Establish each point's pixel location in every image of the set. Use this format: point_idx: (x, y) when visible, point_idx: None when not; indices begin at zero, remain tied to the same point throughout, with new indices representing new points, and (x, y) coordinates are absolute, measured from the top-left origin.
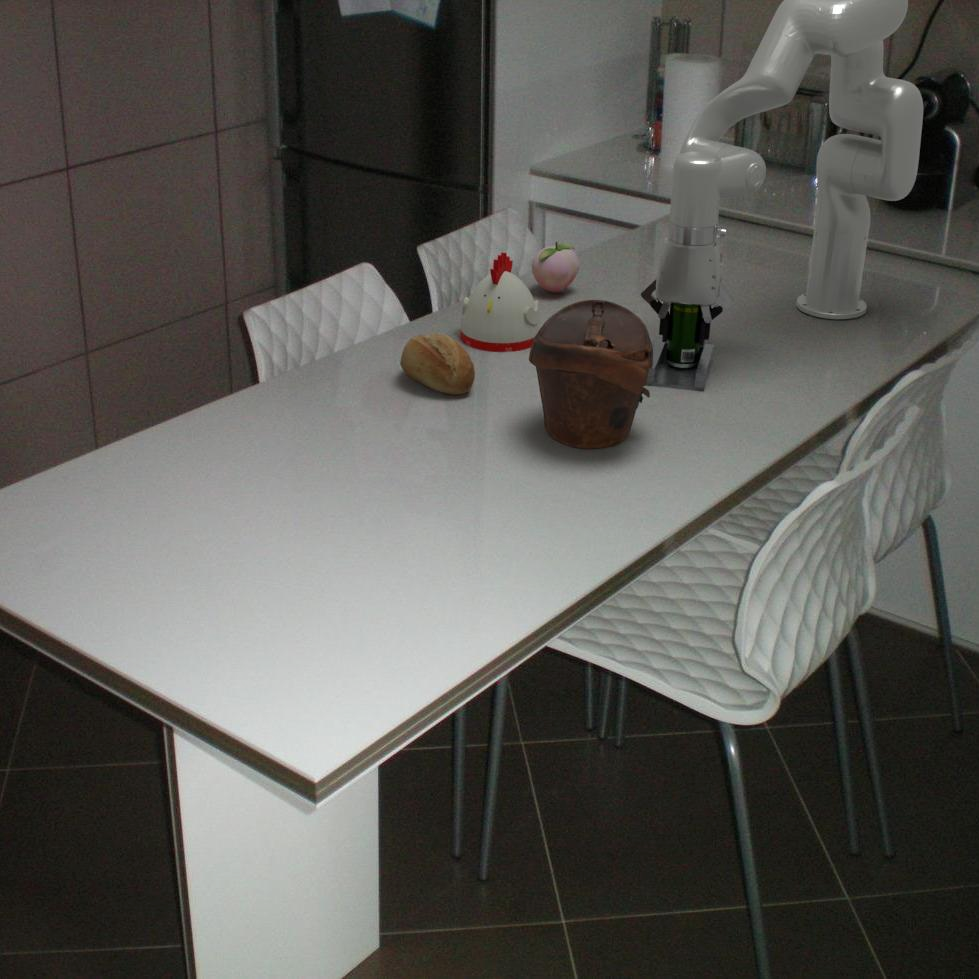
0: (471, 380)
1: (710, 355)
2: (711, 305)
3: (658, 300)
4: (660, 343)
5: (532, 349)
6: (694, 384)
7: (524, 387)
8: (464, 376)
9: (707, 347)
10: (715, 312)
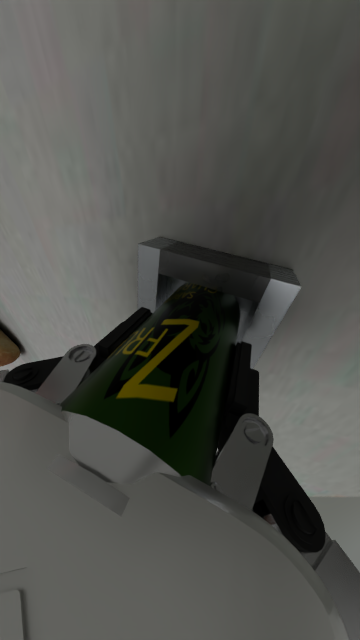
0: (10, 359)
1: (260, 354)
2: (259, 485)
3: (30, 390)
4: (148, 278)
5: None
6: None
7: (47, 341)
8: (3, 365)
9: (268, 308)
10: (261, 503)
